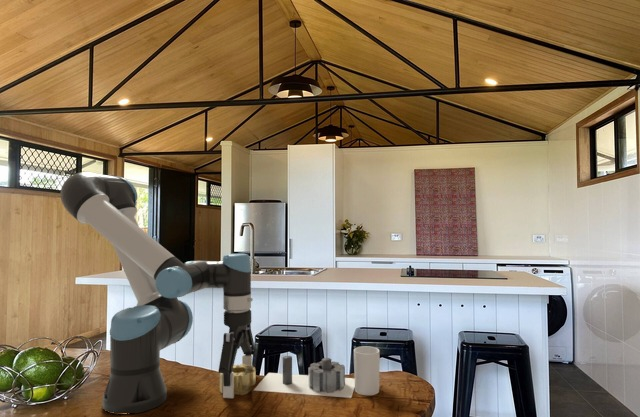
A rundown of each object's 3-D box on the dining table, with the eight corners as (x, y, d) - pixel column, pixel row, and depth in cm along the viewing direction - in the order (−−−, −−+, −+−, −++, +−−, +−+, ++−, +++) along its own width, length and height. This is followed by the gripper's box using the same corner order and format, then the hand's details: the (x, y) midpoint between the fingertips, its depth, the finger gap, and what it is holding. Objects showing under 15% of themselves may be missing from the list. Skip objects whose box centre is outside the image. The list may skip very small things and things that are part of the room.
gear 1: (213, 394, 115) (213, 375, 115) (228, 380, 124) (228, 363, 124) (248, 396, 113) (248, 377, 113) (260, 382, 122) (260, 365, 123)
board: (253, 395, 114) (253, 363, 114) (268, 377, 126) (268, 348, 126) (351, 403, 108) (351, 369, 109) (357, 384, 121) (356, 353, 121)
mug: (378, 402, 109) (378, 354, 109) (352, 400, 110) (351, 353, 111) (382, 387, 119) (381, 343, 119) (358, 385, 120) (357, 342, 120)
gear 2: (312, 394, 111) (312, 374, 111) (306, 380, 120) (306, 362, 120) (348, 391, 112) (348, 371, 113) (339, 377, 122) (339, 359, 122)
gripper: (232, 320, 106) (233, 407, 106) (265, 301, 131) (266, 372, 130) (204, 320, 108) (205, 405, 107) (241, 301, 132) (242, 370, 132)
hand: (238, 387), depth 119 cm, fingers open, 13 cm apart
